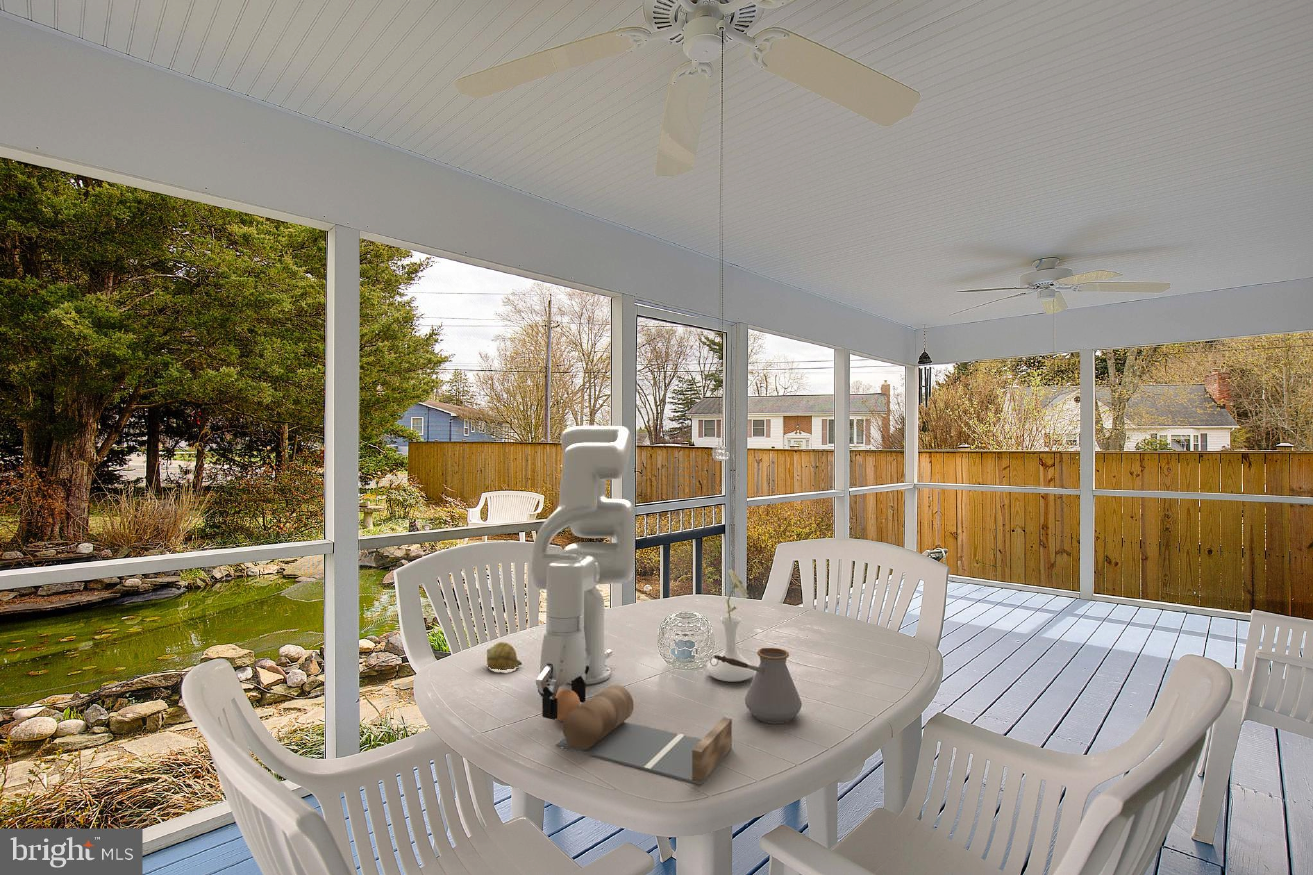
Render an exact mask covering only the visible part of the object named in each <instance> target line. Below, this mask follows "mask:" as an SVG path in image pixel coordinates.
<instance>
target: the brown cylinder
mask: <svg viewBox="0 0 1313 875" xmlns="http://www.w3.org/2000/svg"><path fill="white" fill-rule="evenodd" d="M633 711H634V699H633V697H632V695H631V693H630V691H629V690H628V688H626V687H624V686H622V685H620V684H611V685H609V686H608V687H607V688H605V689H603V690H602V691H599V692H598V693H597V694H595V695H594V696H592V697H591V698H589V699H588V700H586V701H585V702H583V703H581V704H580V706H579V707H577V708H576V709H574V710H572V711H571V712H569V713H568V714H567V715H566V716H565V718H564V721H562V733H563V736H564V738H566V740H567V742H568V743H569V744H570V745H571V746H572V747H573V748H575V749H577V750H582V751H583V750H587V749H589V748H590V747H591V746H593V745H594V744H595V743H596V742H598V741H599V740H600V739H602V738H603V737H604V736H606V735H607V734H608V733H609V732H611V731H612V730H613V729H615V728H616V727H617V726H619V725H620V724H621V723H622V722H626V720H627V719H629V718H630V717H631V716H632V714H633Z"/></svg>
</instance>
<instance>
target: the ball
mask: <svg viewBox="0 0 1313 875" xmlns="http://www.w3.org/2000/svg"><path fill="white" fill-rule="evenodd" d="M555 698H557V700H558V707H557V719H556V720H558V721H560V722H563V721H564V718H565V716H566V715H567V714H568V713H569V712H571V711H572V710H574V709H576V708H577V707H579V706H580V705H581V702H580V699H579V697H578V695H577V694H576V693H575V692H574V691H572V690H571V689H570V688H569V689H568V688H563V689H558V692H557V694H556V697H555Z"/></svg>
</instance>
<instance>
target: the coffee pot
mask: <svg viewBox="0 0 1313 875" xmlns="http://www.w3.org/2000/svg"><path fill="white" fill-rule="evenodd" d="M756 654H757V655H758V657H759V661H760V663H759V664H758V666H756V665H753V664H752V665H749V664H747V663H744V662H741V661H739V660H736V659H733V658H726V657H725V656H722V657H721V656H719V655H720V654H719V655H718V654H717V655H713V656H710V659H709V663H711V661H712V660H713V658H714V659H717V660H718V661H719V660H721V661H722V662H723V663H724V662H727V663H729V664H730V665H734V666H738V667H743V668H748V669H751V670H754V671H755V673H754V675H753V679H752V680H751V684H750V686H749V688H748V690H747V692H746V695H745V697H744V702H745V706H746V709H748V711H749V712H750V713H751V714H752V715H753V716H754V717H755V719H757V720H759V721H760V722H764V723H767V724H785V723H788V722H790V721H792V719H793V718H794V717H795V716H796V715H798V714H799V713H800V712H801V711H800V710H801V708H802V705H803V704H802V701H801V697H800V695H799V692H798V690H797V688H796V686H795V682H794V680H793V678H792V674H791V673H790V670H789V668H788V666H787V659H788V658H789V657H790V653H789V651H787V650H785V649H781V648H776V647H762V648H760V649H758V650H757V652H756ZM718 661H717V664H718ZM717 664H716V665H717ZM711 665H712V663H711ZM716 665H712V666H716ZM784 722H785V723H784Z"/></svg>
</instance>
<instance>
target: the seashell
mask: <svg viewBox="0 0 1313 875" xmlns="http://www.w3.org/2000/svg"><path fill="white" fill-rule="evenodd" d="M486 662H487V664H486V665H488V667H490V668H491V669H498V670H499V669H500V670H507V669H514V668H515V667H518V668H519V666H521V665H523V664H522V661H521V660H520V659H518V656H517V652H516V650H515V648H514V647H513V645H511V644H510V643H509V642H508V643H507V642H503V641H502V642H498V643H497V642H496V643H495V644H494V645H493V646H492V647H490V648H488V649H487V650H486ZM488 667H487V668H488Z"/></svg>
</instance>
